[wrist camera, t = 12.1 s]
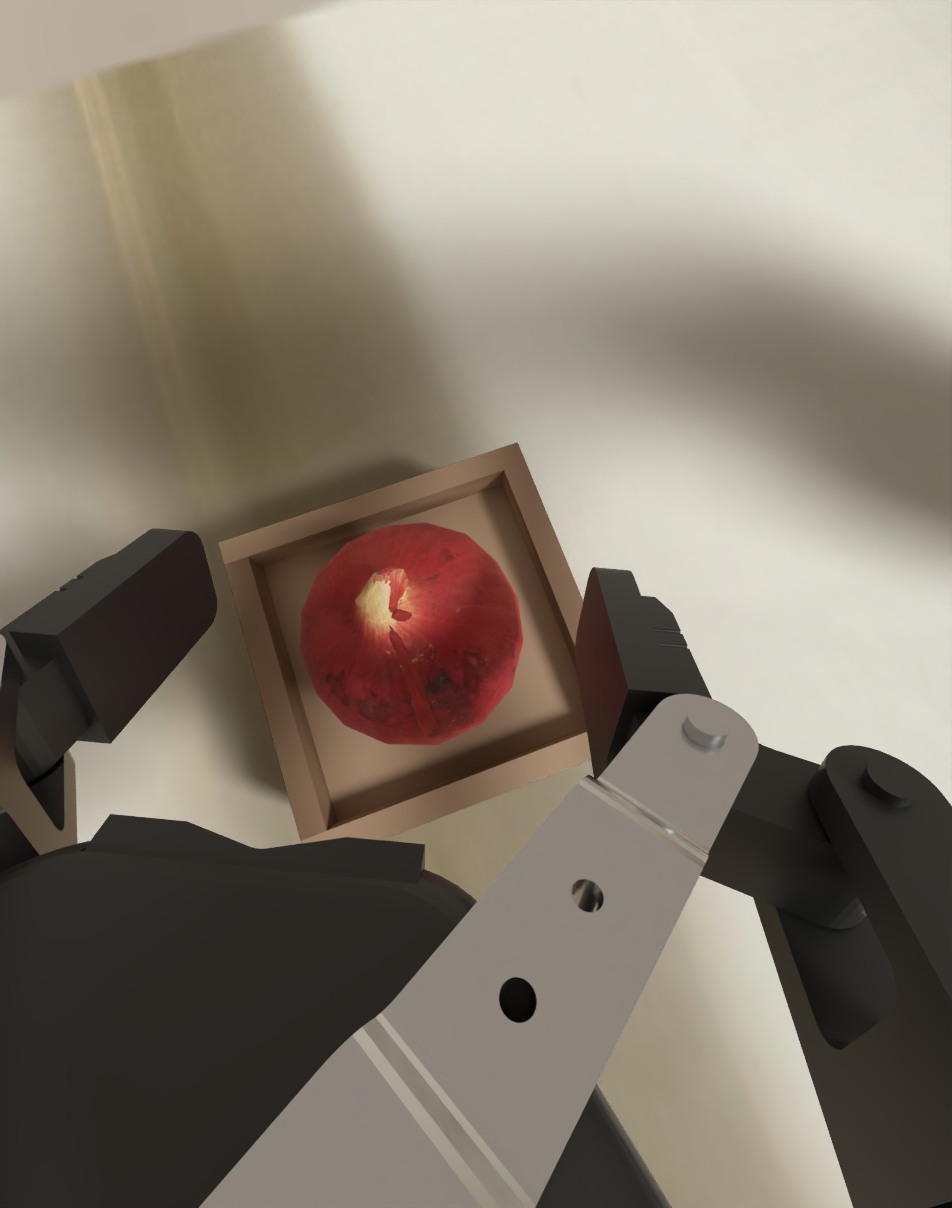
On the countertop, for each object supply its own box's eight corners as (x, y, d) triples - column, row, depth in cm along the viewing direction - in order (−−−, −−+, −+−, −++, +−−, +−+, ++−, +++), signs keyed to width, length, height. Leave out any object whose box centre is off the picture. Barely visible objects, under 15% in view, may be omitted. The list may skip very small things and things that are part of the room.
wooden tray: (508, 501, 23) (517, 442, 17) (599, 731, 21) (640, 740, 16) (278, 580, 22) (218, 542, 17) (351, 826, 20) (308, 868, 15)
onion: (546, 687, 17) (593, 677, 9) (389, 766, 17) (296, 826, 9) (469, 538, 18) (452, 411, 10) (321, 609, 18) (183, 536, 10)
